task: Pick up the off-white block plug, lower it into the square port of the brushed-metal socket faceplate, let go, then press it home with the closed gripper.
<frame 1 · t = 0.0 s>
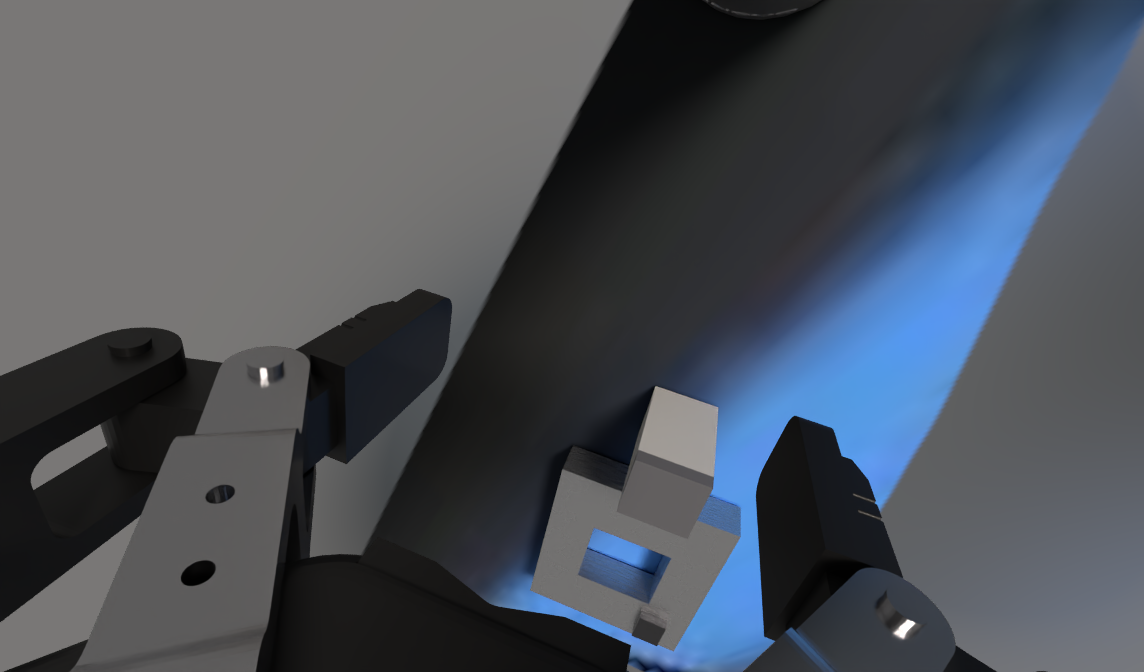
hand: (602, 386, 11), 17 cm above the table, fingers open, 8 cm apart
plug: (676, 420, 32), on the table
socket: (628, 539, 38), on the table
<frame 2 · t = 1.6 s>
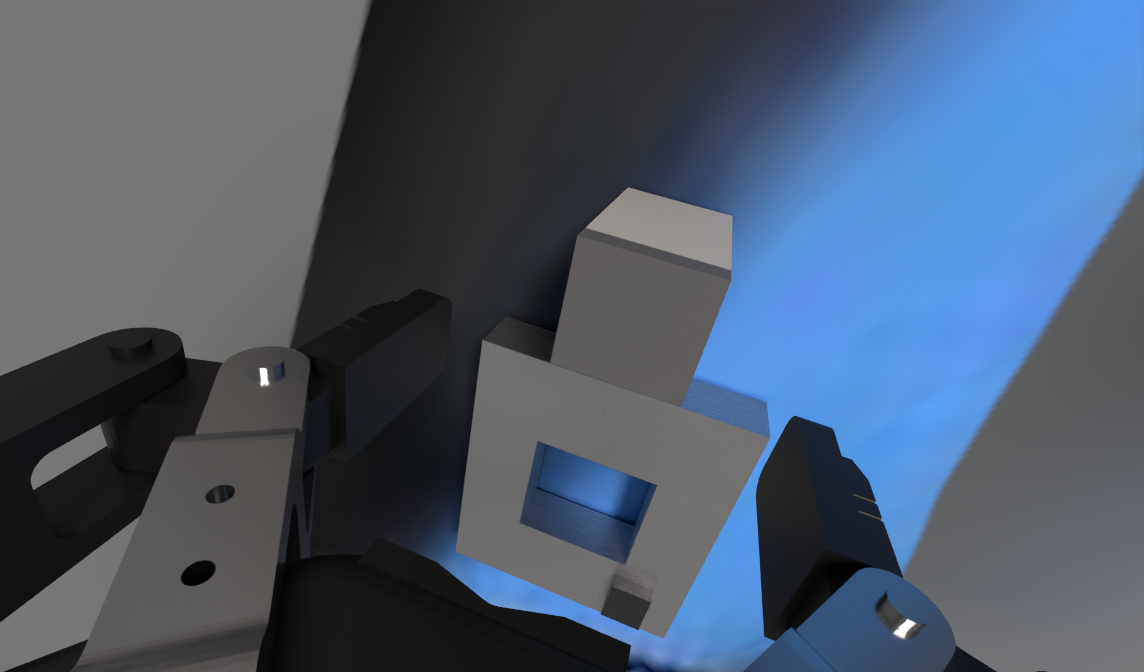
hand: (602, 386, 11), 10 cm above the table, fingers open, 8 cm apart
plug: (663, 251, 19), on the table
socket: (595, 470, 25), on the table
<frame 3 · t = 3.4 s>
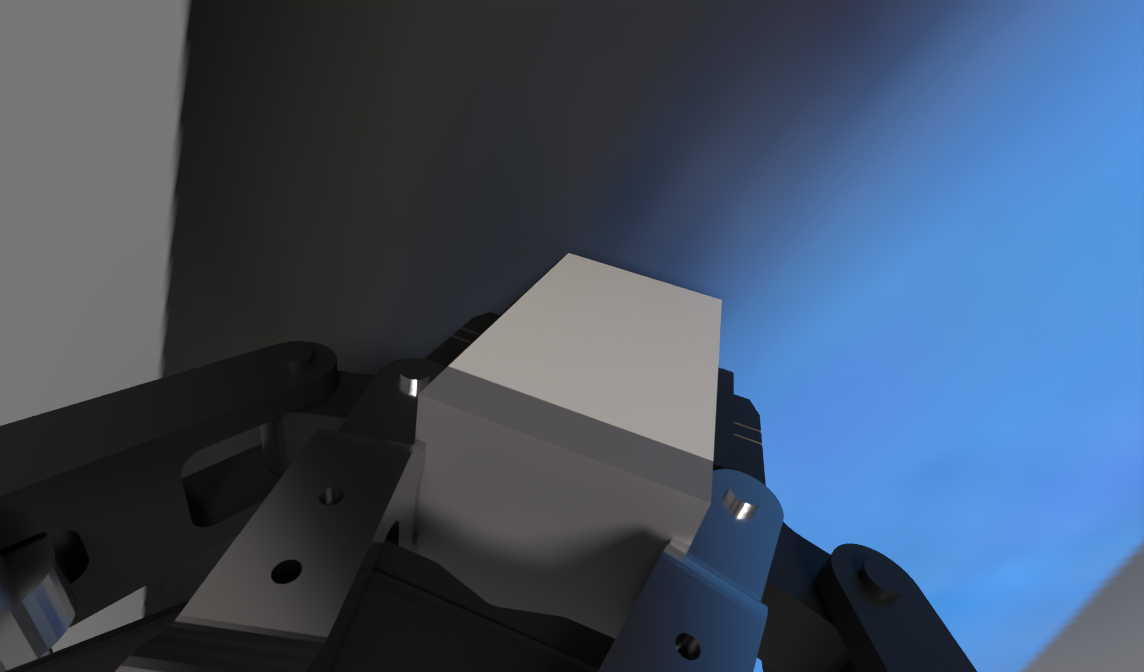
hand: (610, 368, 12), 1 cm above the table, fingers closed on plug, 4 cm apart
plug: (622, 343, 13), on the table, touching gripper
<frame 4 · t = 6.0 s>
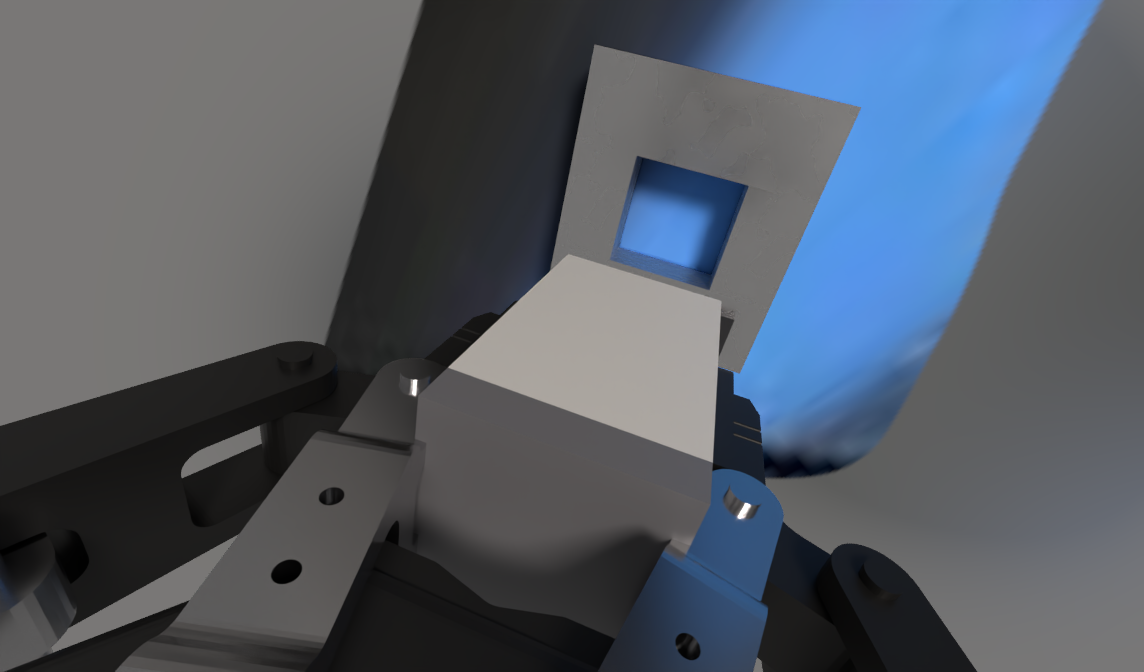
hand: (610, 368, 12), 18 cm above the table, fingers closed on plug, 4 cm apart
plug: (622, 344, 13), point 16 cm above the table, touching gripper
socket: (679, 214, 27), on the table
when the fingers open (3 cm above the table, at t = 8.8 s): plug drops 2 cm, resting in socket.
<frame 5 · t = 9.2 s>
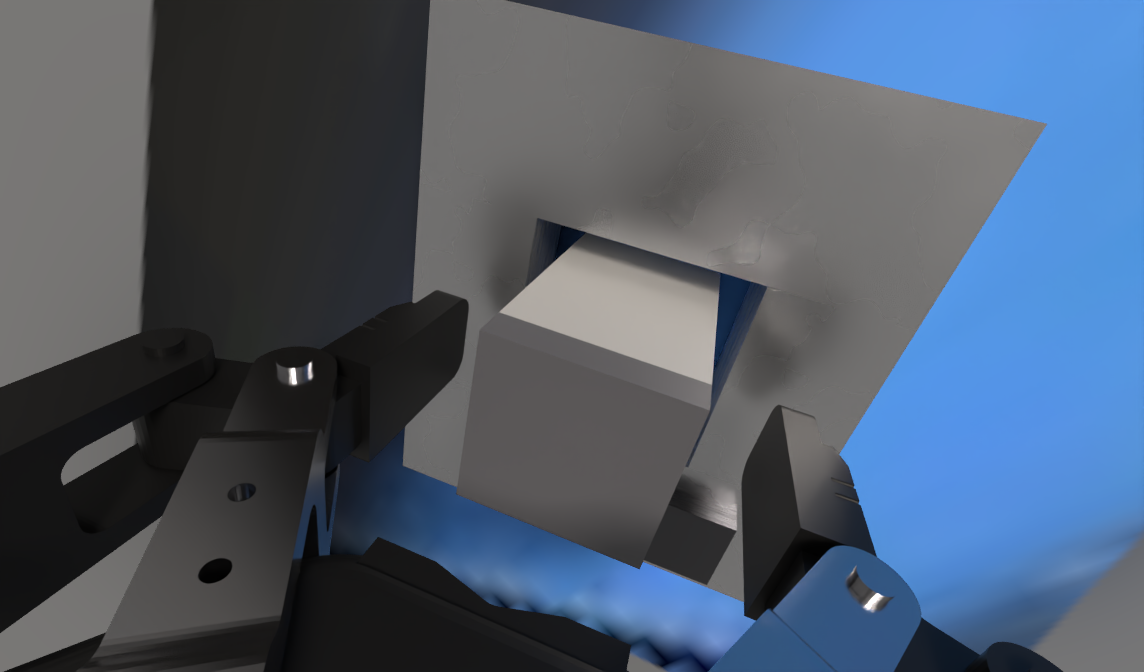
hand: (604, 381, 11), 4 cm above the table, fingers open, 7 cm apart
plug: (632, 313, 15), resting in socket
socket: (634, 315, 15), on the table
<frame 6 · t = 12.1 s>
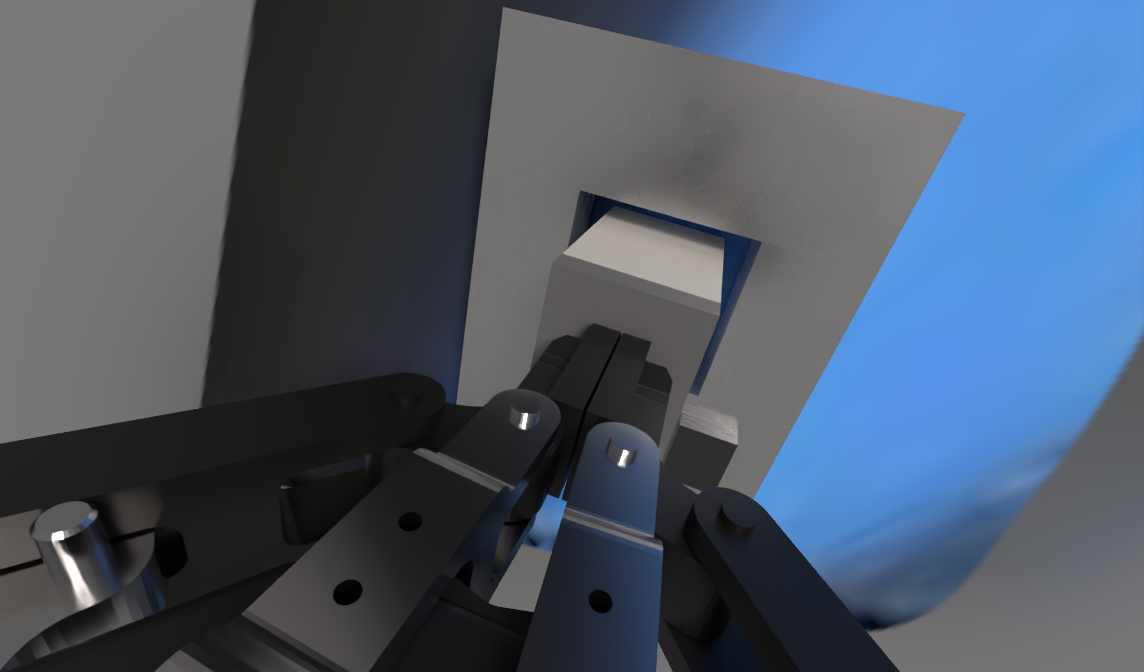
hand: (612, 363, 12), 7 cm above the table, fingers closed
plug: (652, 273, 18), resting in socket, touching gripper
socket: (653, 274, 18), on the table
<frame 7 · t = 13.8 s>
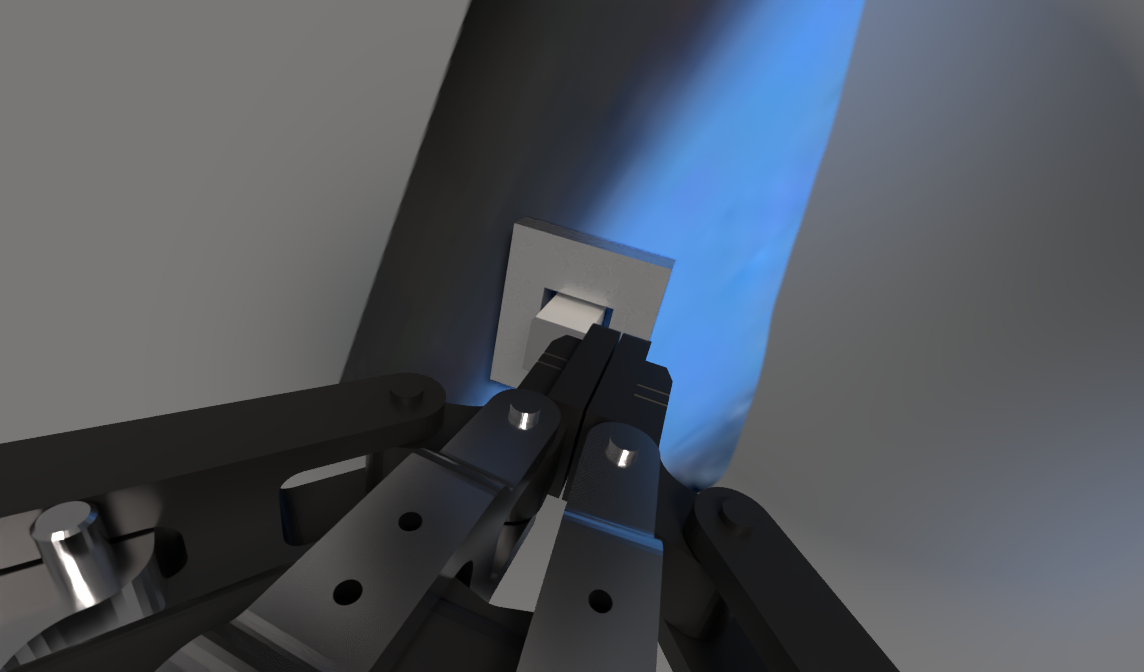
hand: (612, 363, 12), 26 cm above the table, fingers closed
plug: (579, 318, 41), resting in socket
socket: (579, 318, 41), on the table
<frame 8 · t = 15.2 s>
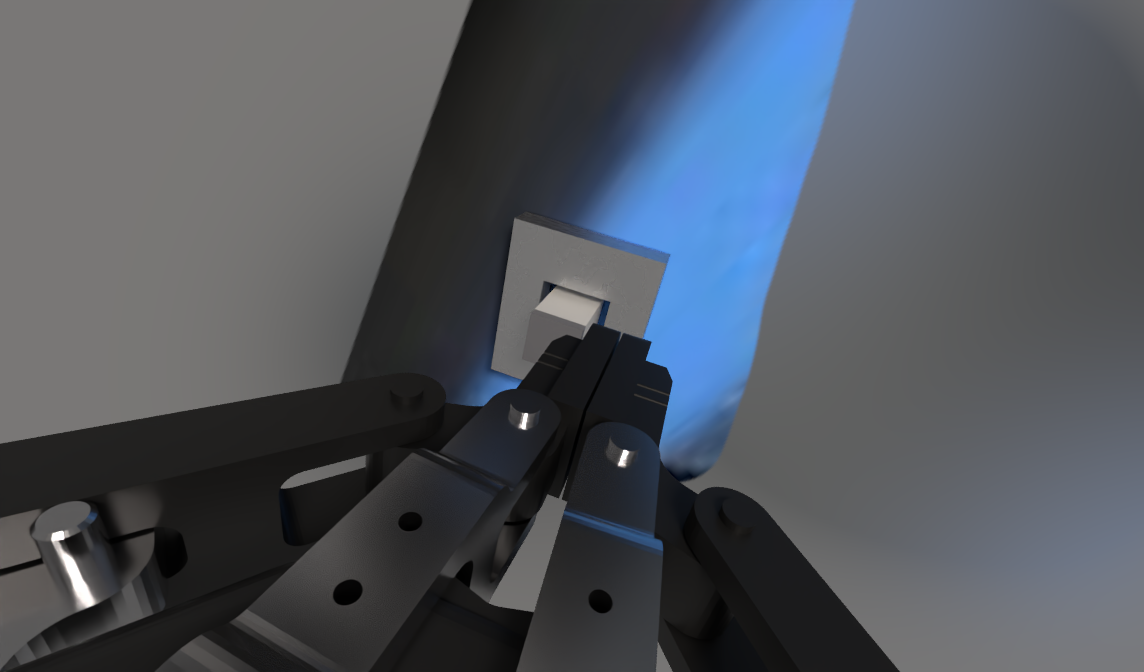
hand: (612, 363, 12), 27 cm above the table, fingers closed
plug: (577, 310, 42), resting in socket
socket: (577, 310, 42), on the table
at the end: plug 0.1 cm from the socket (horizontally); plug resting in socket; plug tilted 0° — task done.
